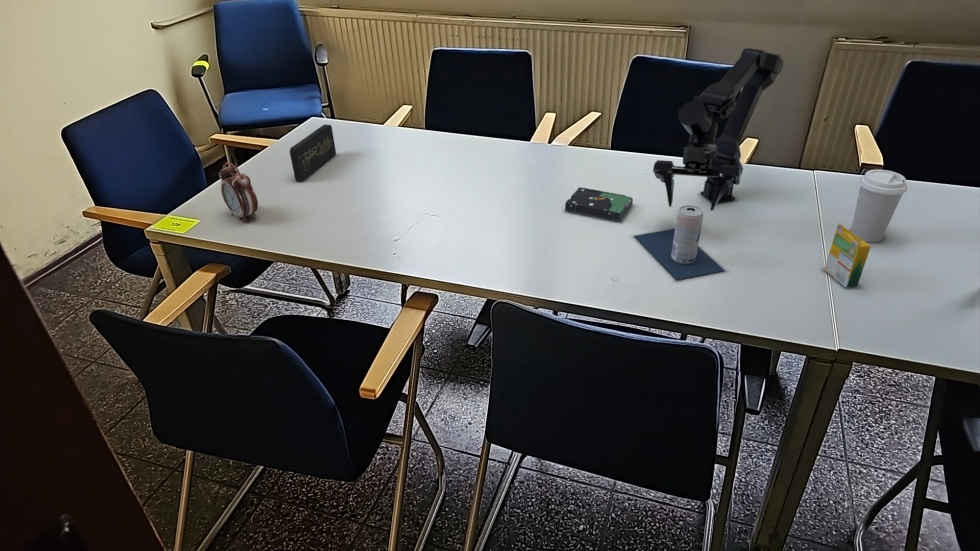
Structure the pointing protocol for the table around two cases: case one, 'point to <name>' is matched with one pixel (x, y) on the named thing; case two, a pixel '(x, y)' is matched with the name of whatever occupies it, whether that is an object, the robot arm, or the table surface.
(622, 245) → the table surface
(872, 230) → the coffee cup
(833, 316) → the table surface
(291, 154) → the nameplate
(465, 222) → the table surface
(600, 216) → the disk drive
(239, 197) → the alarm clock
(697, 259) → the mat
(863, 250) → the crayon box
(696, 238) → the energy drink
